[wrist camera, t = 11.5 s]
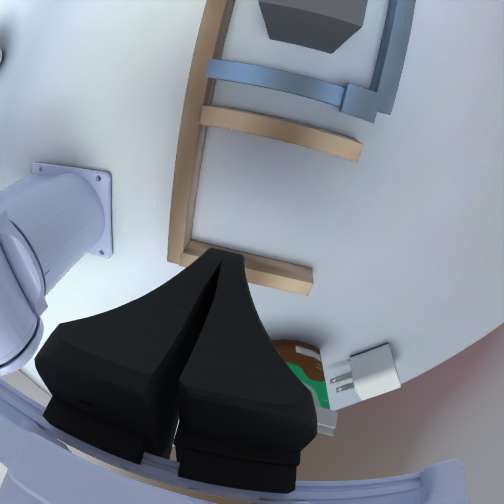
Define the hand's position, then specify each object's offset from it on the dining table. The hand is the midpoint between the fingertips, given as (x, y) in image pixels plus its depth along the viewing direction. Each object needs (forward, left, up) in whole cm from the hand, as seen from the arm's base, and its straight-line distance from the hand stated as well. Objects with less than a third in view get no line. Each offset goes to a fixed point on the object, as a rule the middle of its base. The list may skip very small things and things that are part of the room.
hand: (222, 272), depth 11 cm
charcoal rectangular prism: (+1, +13, -10) cm, 16 cm away
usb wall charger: (+15, -15, -11) cm, 24 cm away
